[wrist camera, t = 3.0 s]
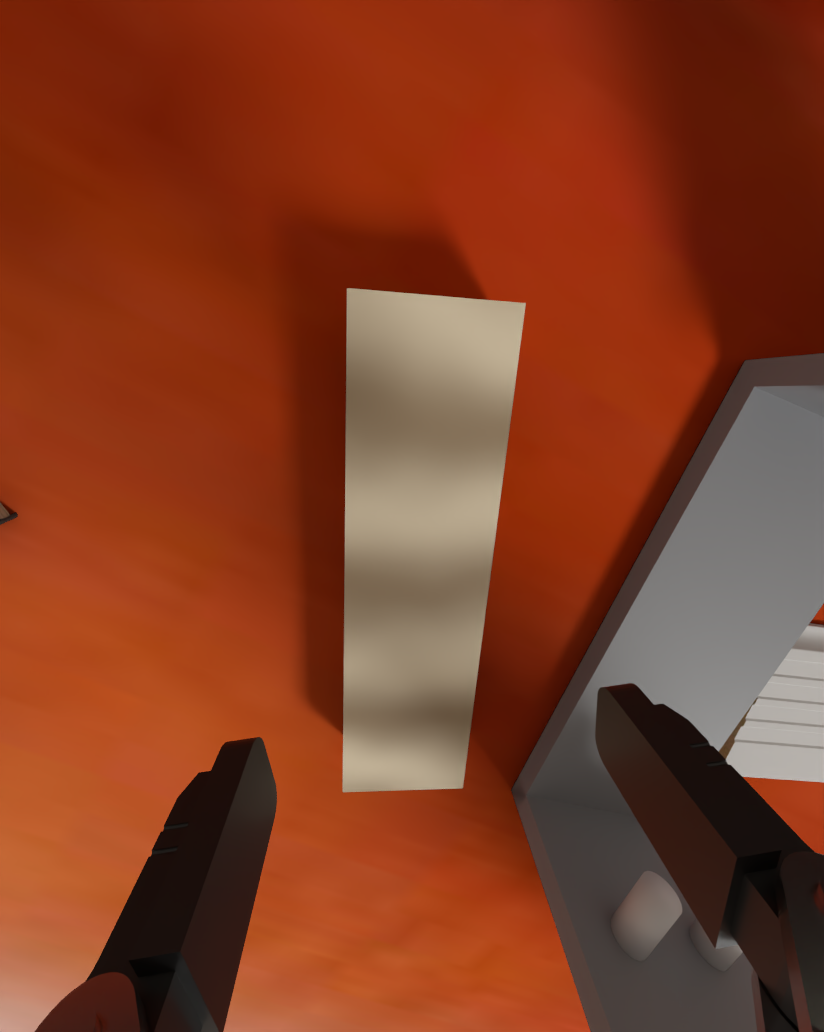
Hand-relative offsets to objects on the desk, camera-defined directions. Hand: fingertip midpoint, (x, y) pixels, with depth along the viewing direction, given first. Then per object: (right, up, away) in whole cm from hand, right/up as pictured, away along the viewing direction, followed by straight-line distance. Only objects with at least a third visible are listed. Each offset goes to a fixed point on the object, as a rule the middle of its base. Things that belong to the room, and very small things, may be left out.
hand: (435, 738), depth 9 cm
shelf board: (-1, +3, +10) cm, 11 cm away
